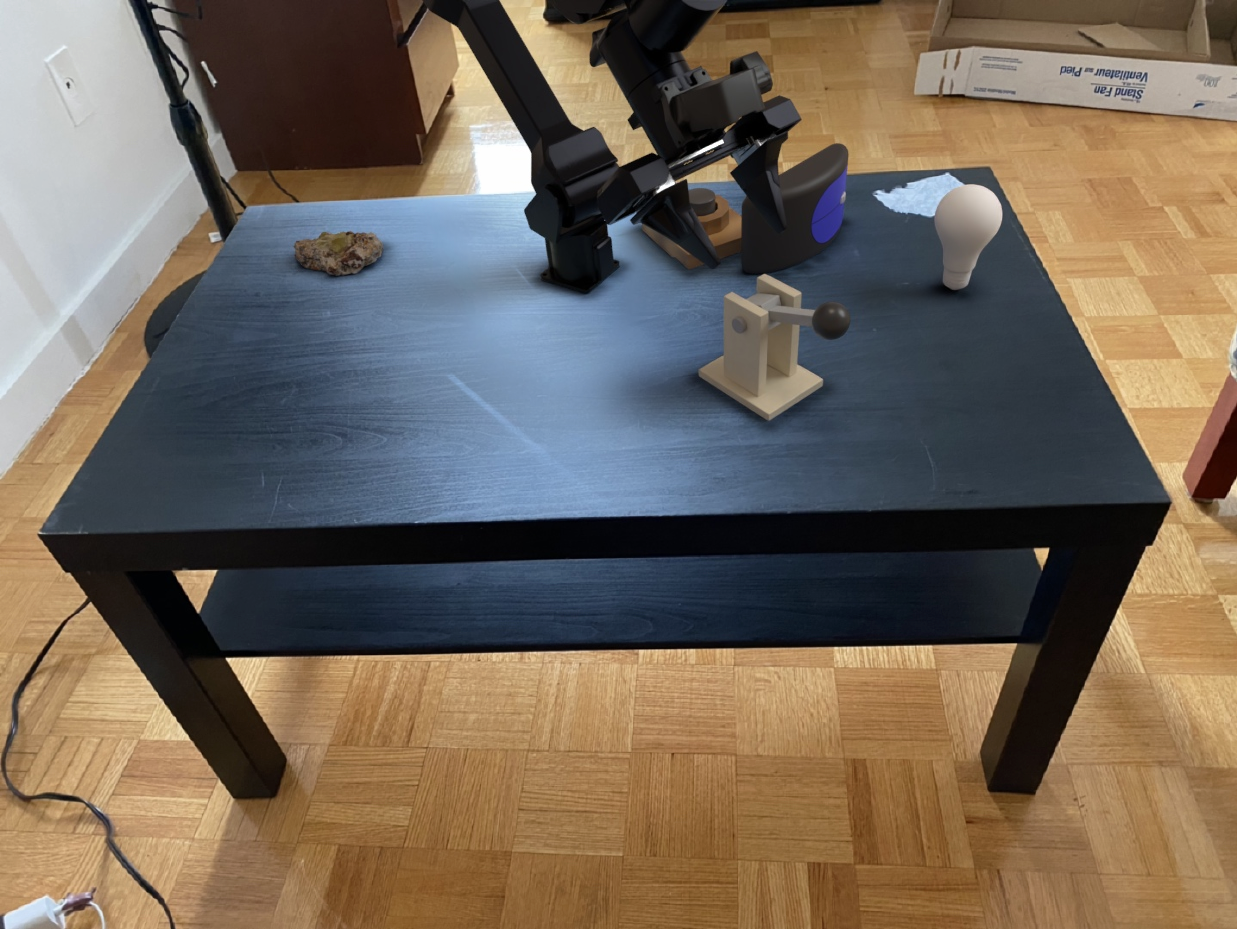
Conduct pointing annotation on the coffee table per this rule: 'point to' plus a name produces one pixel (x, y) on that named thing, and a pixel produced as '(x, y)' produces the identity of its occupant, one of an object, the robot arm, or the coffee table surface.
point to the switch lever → (805, 316)
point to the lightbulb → (965, 230)
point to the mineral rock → (339, 252)
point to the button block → (719, 229)
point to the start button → (702, 201)
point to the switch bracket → (761, 355)
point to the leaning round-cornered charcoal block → (798, 214)
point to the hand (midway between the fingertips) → (750, 249)
